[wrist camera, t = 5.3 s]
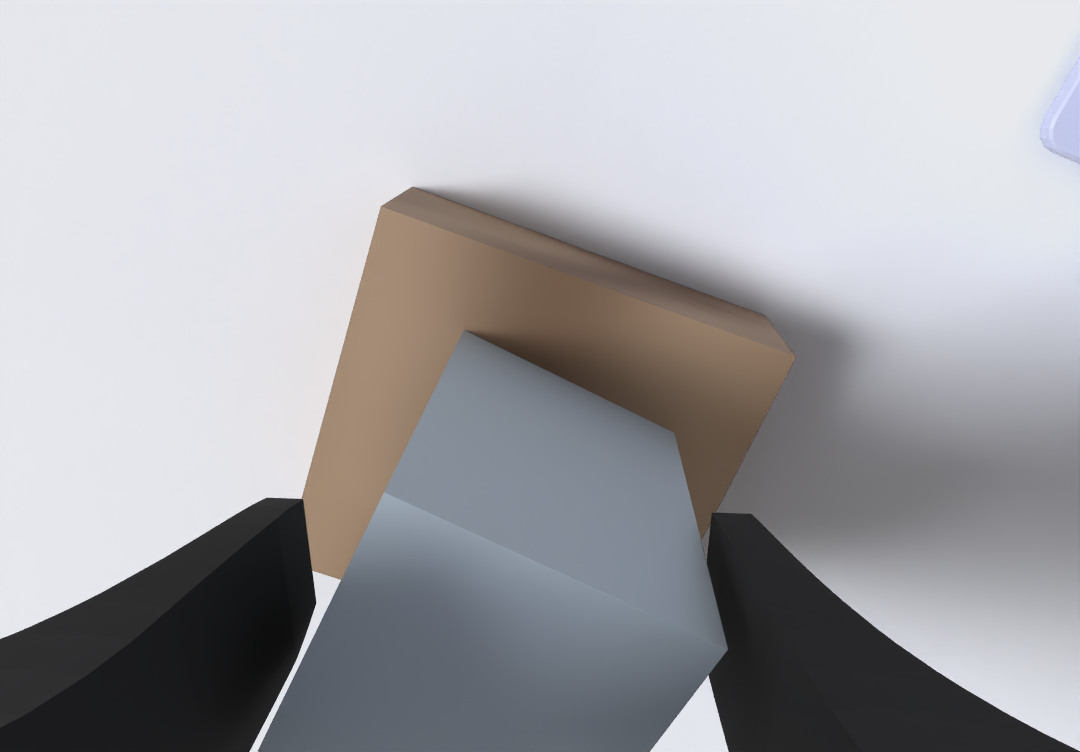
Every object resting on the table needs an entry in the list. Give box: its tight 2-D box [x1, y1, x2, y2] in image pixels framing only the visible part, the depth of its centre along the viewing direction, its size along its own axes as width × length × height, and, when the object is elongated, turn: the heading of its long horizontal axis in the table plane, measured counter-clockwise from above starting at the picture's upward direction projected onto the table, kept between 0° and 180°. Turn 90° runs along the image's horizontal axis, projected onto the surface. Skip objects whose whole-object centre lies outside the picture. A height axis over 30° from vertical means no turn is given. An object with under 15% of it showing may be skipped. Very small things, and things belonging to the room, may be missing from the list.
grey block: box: [258, 330, 728, 752], centre depth 12 cm, size 4×4×6 cm
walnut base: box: [302, 187, 796, 580], centre depth 17 cm, size 8×8×3 cm
